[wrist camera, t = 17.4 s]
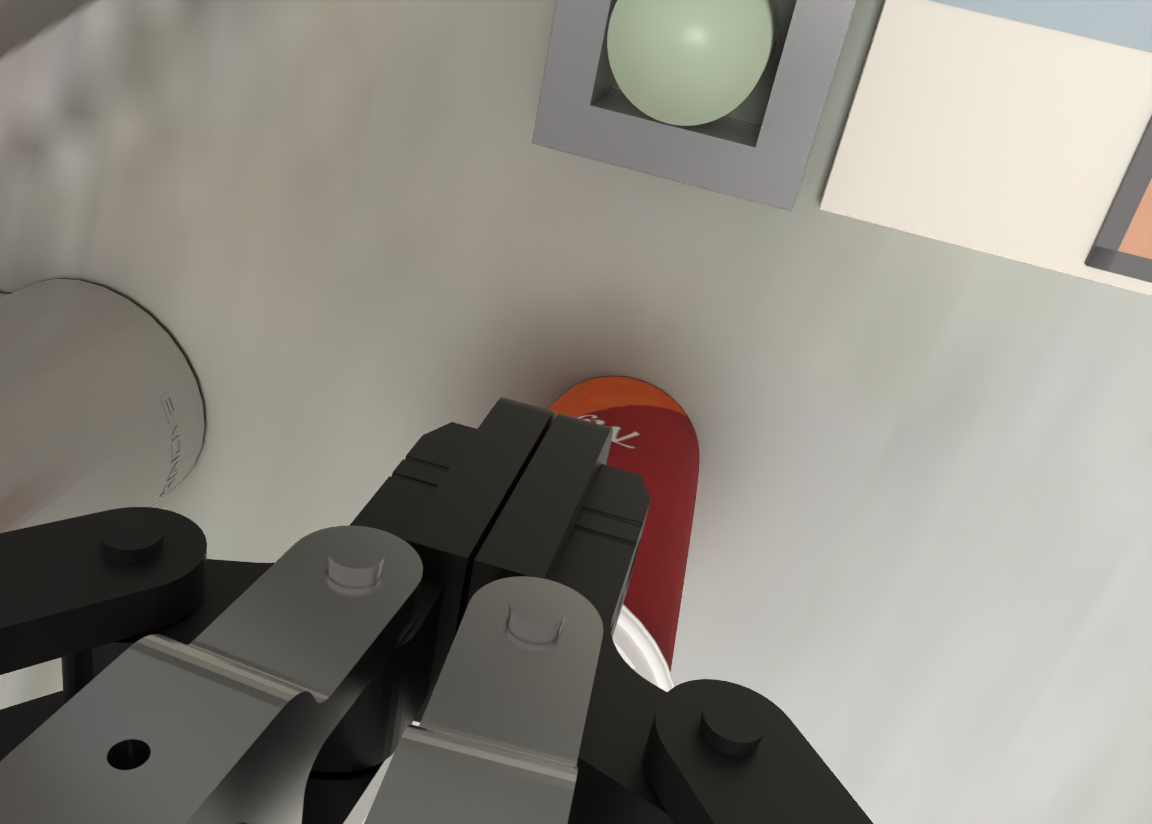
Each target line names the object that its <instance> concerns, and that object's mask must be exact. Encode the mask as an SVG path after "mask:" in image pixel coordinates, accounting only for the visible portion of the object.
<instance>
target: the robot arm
mask: <svg viewBox="0 0 1152 824" xmlns="http://www.w3.org/2000/svg"><path fill="white" fill-rule="evenodd" d="M204 428H205V425H204V412H203V403H202V399H201V396H200V392H199V389H198V385H197V382H196V379H195V377H194V375H193V373H192V371H191V369H190V367H189V365H188V363H187V361H186V359H185V357H184V355H183V354H182V353H181V351H180V350H179V348H178V347H177V345H176V344H175V343H174V341H173V340H172V338H171V337H170V336H169V334H168V333H167V332H166V331H165V330H164V329H163V328H162V327H161V326H160V325H159V324H158V323H157V322H156V321H155V320H154V319H153V318H152V317H151V316H150V315H149V314H147V313H146V312H145V311H143V310H142V309H141V308H139V307H138V306H136V305H135V304H134V303H132V302H131V301H130V300H128V299H127V298H125V297H123V296H121V295H119V294H117V293H115V292H113V291H111V290H109V289H107V288H105V287H102V286H99V285H95V284H91V283H88V282H84V281H81V280H69V279H52V280H47V281H41V282H36V283H34V284H31V285H29V286H27V287H25V288H23V289H20V290H18V291H16V292H14V293H11V294H4V293H0V675H2V674H5V673H9V672H12V671H15V670H19V669H22V668H26V667H29V666H33V665H36V664H40V663H43V662H46V661H50V660H53V659H57V658H60V657H61V658H62V676H63V691H60V692H56V693H53V694H50V695H47V696H43V697H40V698H37V699H34V700H30V701H27V702H24V703H21V704H18V705H14V706H11V707H8V708H5V709H1V710H0V824H361V823H362V822H363V820H364V819H365V817H366V816H367V814H368V812H369V814H368V816H367V818H366V821H365V823H364V824H873V823H872V821H871V820H870V819H869V818H868V816H867V815H866V814H865V813H864V811H863V810H862V809H861V807H860V806H859V805H858V804H857V802H856V801H855V800H854V799H853V797H852V796H851V795H850V794H849V792H848V791H847V790H846V789H845V787H844V786H843V785H842V784H841V782H840V781H839V780H838V779H837V777H836V776H835V775H834V774H833V772H832V771H831V770H830V769H829V767H828V766H827V765H826V764H825V762H824V761H823V760H822V759H821V757H820V756H819V755H818V754H817V752H816V751H815V750H814V749H813V747H812V746H811V745H810V744H809V742H808V741H807V740H806V739H805V737H804V736H803V735H802V734H801V732H800V731H799V730H798V729H797V727H796V726H795V725H794V724H793V722H792V721H791V720H790V719H789V717H788V716H787V715H786V714H785V713H784V712H783V711H782V710H781V709H780V708H779V707H777V706H776V705H775V704H774V703H773V702H771V701H770V700H768V699H767V698H765V697H764V696H762V695H761V694H759V693H757V692H755V691H753V690H751V689H749V688H746V687H744V686H741V685H738V684H735V683H731V682H727V681H721V680H712V679H701V680H692V681H688V682H685V683H682V684H679V685H677V686H675V687H673V688H672V689H671V690H669V691H668V692H666V691H664V690H663V689H661V688H659V687H657V686H656V685H654V684H652V683H651V682H649V681H648V680H646V679H645V678H643V677H642V676H640V675H639V674H638V673H637V672H636V671H634V670H633V669H632V668H631V667H630V666H629V665H628V664H627V663H626V662H625V660H624V659H623V658H622V656H621V655H620V654H619V652H618V651H617V648H616V646H615V644H614V642H613V639H612V637H613V634H614V631H615V628H616V625H617V621H618V618H619V615H620V612H621V609H622V606H623V603H624V600H625V596H626V593H627V589H628V585H629V581H630V577H631V574H632V570H633V566H634V562H635V558H636V554H637V551H638V547H639V543H640V539H641V535H642V531H643V527H644V524H645V520H646V516H647V512H648V508H649V504H650V501H651V499H650V497H649V494H648V491H647V489H646V486H645V484H644V481H643V478H642V476H641V475H639V474H636V473H632V472H629V471H625V470H622V469H618V468H614V467H611V466H607V465H606V462H607V458H608V454H609V449H610V445H611V440H612V434H613V428H611V427H608V426H604V425H600V424H597V423H593V422H590V421H586V420H582V419H579V418H575V417H572V416H568V415H564V414H561V413H559V414H558V415H557V416H556V413H555V412H553V411H549V410H545V409H542V408H538V407H535V406H531V405H527V404H524V403H520V402H517V401H513V400H509V399H506V398H500V399H499V400H498V401H497V403H496V404H495V406H494V407H493V408H492V410H491V411H490V413H489V414H488V415H487V417H486V418H485V420H484V421H483V422H482V424H481V425H480V427H479V428H478V429H475V428H471V427H468V426H464V425H461V424H457V423H453V422H451V423H449V424H447V425H445V426H442V427H440V428H438V429H436V430H434V431H431V432H429V433H427V434H425V435H423V436H422V437H421V438H420V439H419V440H418V442H417V443H416V444H415V445H414V447H413V448H412V449H411V450H410V452H409V453H408V454H407V455H406V459H405V460H402V461H401V463H400V464H399V465H398V466H397V468H396V469H395V470H394V471H393V474H392V477H390V476H389V477H388V479H387V480H386V481H385V482H384V484H383V485H382V486H381V487H380V489H379V490H378V491H377V492H376V494H375V495H374V496H373V497H372V498H371V500H370V501H369V502H368V503H367V505H366V506H365V507H364V508H363V510H362V511H361V512H360V513H359V514H358V516H357V517H356V518H355V519H354V521H353V522H352V523H351V524H350V526H337V527H330V528H326V529H321V530H318V531H316V532H313V533H310V534H309V535H307V536H305V537H303V538H302V539H300V540H299V541H298V542H296V543H295V544H294V545H293V546H292V547H291V548H290V549H289V550H288V551H287V552H286V553H285V554H284V555H283V556H282V557H281V558H279V559H278V560H277V561H276V562H275V563H252V562H239V561H225V560H212V559H206V556H207V542H206V537H205V535H204V533H203V531H202V530H201V529H200V528H199V526H198V525H197V524H195V523H194V522H193V521H191V520H190V519H188V518H186V517H184V516H182V515H180V514H178V513H175V512H172V511H168V510H163V509H159V508H150V507H151V506H152V505H154V504H155V503H156V502H157V501H158V500H159V499H161V498H162V497H163V496H164V495H165V494H167V493H168V492H169V491H170V490H171V489H172V488H174V487H175V486H176V485H177V484H178V483H179V482H181V481H182V480H183V479H184V477H185V476H186V475H187V474H188V472H189V471H190V470H191V469H192V468H193V466H194V464H195V462H196V460H197V457H198V455H199V453H200V450H201V448H202V442H203V435H204ZM413 721H416V722H419V723H420V725H419V726H416V725H412V723H413Z"/></svg>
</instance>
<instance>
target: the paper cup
mask: <svg viewBox="0 0 1152 824" xmlns="http://www.w3.org/2000/svg"><path fill="white" fill-rule="evenodd" d="M548 410H549V411H553V412H555V413H556V416H557V415H558V414H559V413H561V414H564V415H568V416H572V417H575V418H579V419H582V420H586V421H590V422H593V423H597V424H600V425H604V426H608V427H611V428H613V434H612V440H611V445H610V449H609V454H608V458H607V462H606V465H607V466H611V467H614V468H618V469H622V470H625V471H629V472H632V473H636V474H639V475H641V476H642V478H643V481H644V484H645V486H646V489H647V491H648V494H649V497H650V499H651V501H650V504H649V508H648V512H647V516H646V520H645V524H644V527H643V531H642V535H641V539H640V543H639V547H638V551H637V554H636V558H635V562H634V566H633V570H632V574H631V577H630V581H629V585H628V589H627V593H626V596H625V600H624V603H623V606H622V609H621V612H620V615H619V618H618V621H617V625H616V628H615V631H614V634H613V637H612V639H613V642H614V644H615V646H616V648H617V651H618V652H619V654H620V655H621V656H622V658H623V659H624V660H625V662H626V663H627V664H628V665H629V666H630V667H631V668H632V669H633V670H634V671H636V672H637V673H638V674H639V675H640V676H642V677H643V678H645V679H646V680H648V681H649V682H651V683H652V684H654V685H656V686H657V687H659V688H661V689H663V690H664V691H666V692H668V691H669V690H671V689H672V688H673V687H674V682H673V679H672V676H671V673H670V671H671V665H672V658H673V651H674V644H675V638H676V631H677V624H678V617H679V611H680V604H681V597H682V591H683V584H684V577H685V570H686V563H687V556H688V550H689V543H690V536H691V529H692V521H693V514H694V507H695V499H696V491H697V482H698V472H699V447H698V441H697V437H696V433H695V430H694V428H693V426H692V423H691V422H690V420H689V418H688V416H687V415H686V413H685V412H684V411H683V409H682V408H681V407H680V406H679V405H678V404H677V403H676V402H675V401H674V400H673V399H672V398H671V397H670V396H669V395H667V394H666V393H665V392H663V391H662V390H660V389H658V388H657V387H655V386H653V385H651V384H649V383H646V382H644V381H641V380H637V379H634V378H629V377H622V376H604V377H597V378H593V379H590V380H587V381H584V382H581V383H579V384H577V385H575V386H574V387H572V388H571V389H569V390H568V391H566V392H565V393H564V394H562V395H561V396H560V397H559V398H558V399H557V400H556V401H555V402H554V403H553V404H552V406H551V407H550V408H549V409H548ZM412 725H416V726H419V725H420V723H419V722H416V721H413V723H412Z"/></svg>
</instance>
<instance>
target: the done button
mask: <svg viewBox="0 0 1152 824" xmlns="http://www.w3.org/2000/svg"><path fill="white" fill-rule="evenodd" d="M778 25H779V24H778V11H777V5H776V1H775V0H617V2H616V4H615V7H614V9H613V12H612V14H611V18H610V22H609V27H608V34H607V49H608V58H609V62H610V66H611V69H612V72H613V75H614V78H615V80H616V82H617V84H618V85H619V87H620V89H621V90H622V92H623V93H624V95H625V96H626V97H627V98H628V99H629V100H630V102H631V103H632V104H633V105H635V106H636V107H637V108H638V109H639V110H640V111H642V112H643V113H645V114H646V115H648V116H650V117H652V118H654V119H656V120H658V121H661V122H664V123H667V124H673V125H681V126H691V125H700V124H704V123H708V122H711V121H714V120H717V119H719V118H721V117H723V116H725V115H726V114H728V113H729V112H731V111H732V110H734V109H735V108H736V107H737V106H739V105H740V104H741V103H742V102H743V101H744V100H745V99H746V98H747V96H748V95H749V94H750V93H751V91H752V90H753V88H754V87H755V85H756V84H757V82H758V80H759V78H760V76H761V75H762V73H763V71H764V69H765V67H766V65H767V64H768V62H769V60H770V58H771V55H772V53H773V50H774V47H775V45H776V40H777V35H778Z"/></svg>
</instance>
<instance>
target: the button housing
mask: <svg viewBox="0 0 1152 824" xmlns="http://www.w3.org/2000/svg"><path fill="white" fill-rule="evenodd" d="M616 2H617V0H557V4H556V10H555V15H554V21H553V27H552V32H551V38H550V43H549V49H548V55H547V60H546V66H545V72H544V77H543V83H542V88H541V94H540V100H539V105H538V111H537V117H536V122H535V128H534V133H533V139H532V144H536V145H540V146H544V147H547V148H551V149H555V150H559V151H563V152H567V153H570V154H574V155H578V156H582V157H586V158H589V159H593V160H597V161H601V162H605V163H609V164H612V165H616V166H620V167H624V168H628V169H632V170H635V171H639V172H643V173H647V174H651V175H654V176H658V177H662V178H666V179H670V180H674V181H677V182H681V183H685V184H689V185H693V186H697V187H700V188H704V189H708V190H712V191H716V192H719V193H723V194H727V195H731V196H735V197H739V198H742V199H746V200H750V201H754V202H758V203H762V204H765V205H769V206H773V207H777V208H781V209H785V210H788V211H792V209H793V206H794V203H795V199H796V196H797V193H798V189H799V186H800V183H801V180H802V176H803V173H804V170H805V167H806V163H807V160H808V157H809V154H810V150H811V147H812V144H813V140H814V137H815V134H816V131H817V127H818V124H819V121H820V118H821V114H822V111H823V108H824V104H825V101H826V98H827V95H828V91H829V88H830V85H831V82H832V78H833V75H834V72H835V68H836V65H837V62H838V59H839V55H840V52H841V49H842V46H843V42H844V39H845V36H846V32H847V29H848V26H849V23H850V19H851V16H852V13H853V10H854V6H855V3H856V0H797V2H796V5H795V9H794V12H793V16H792V19H791V23H790V27H789V30H788V34H787V37H786V41H785V44H784V48H783V51H782V55H781V59H780V62H779V66H778V69H777V73H776V76H775V80H774V84H773V87H772V91H771V94H770V98H769V101H768V105H767V109H766V112H765V116H764V119H763V123H762V126H757V125H753V124H750V123H746V122H742V121H738V120H734V119H730V118H726V117H721V118H719V119H717V120H714V121H711V122H708V123H704V124H700V125H691V126H681V125H673V124H667V123H664V122H661V121H658V120H656V119H654V118H652V117H650V116H648V115H646V114H645V113H643V112H642V111H640V110H639V109H638V108H637V107H636V106H635V105H633V104H632V103H631V102H630V100H629V99H628V98H627V97H626V96H625V95H624V93H623V92H622V91H619V90H615V89H612V87H613V82H614V75H613V72H612V69H611V66H610V62H609V58H608V49H607V34H608V27H609V22H610V18H611V14H612V12H613V9H614V7H615V4H616Z"/></svg>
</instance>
